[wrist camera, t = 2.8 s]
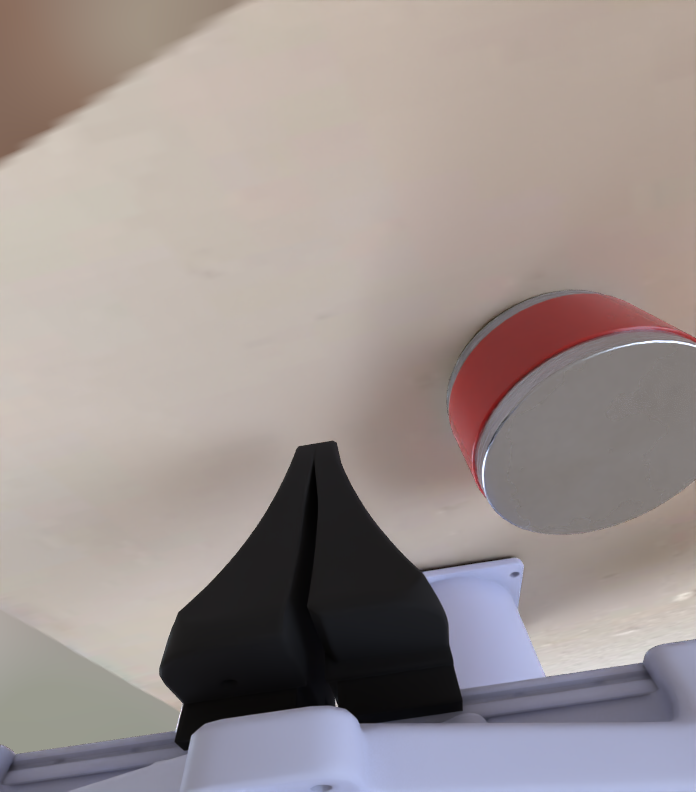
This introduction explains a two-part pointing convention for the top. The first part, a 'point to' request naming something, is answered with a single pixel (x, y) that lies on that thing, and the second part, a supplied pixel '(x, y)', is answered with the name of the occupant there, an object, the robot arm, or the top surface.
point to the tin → (576, 412)
